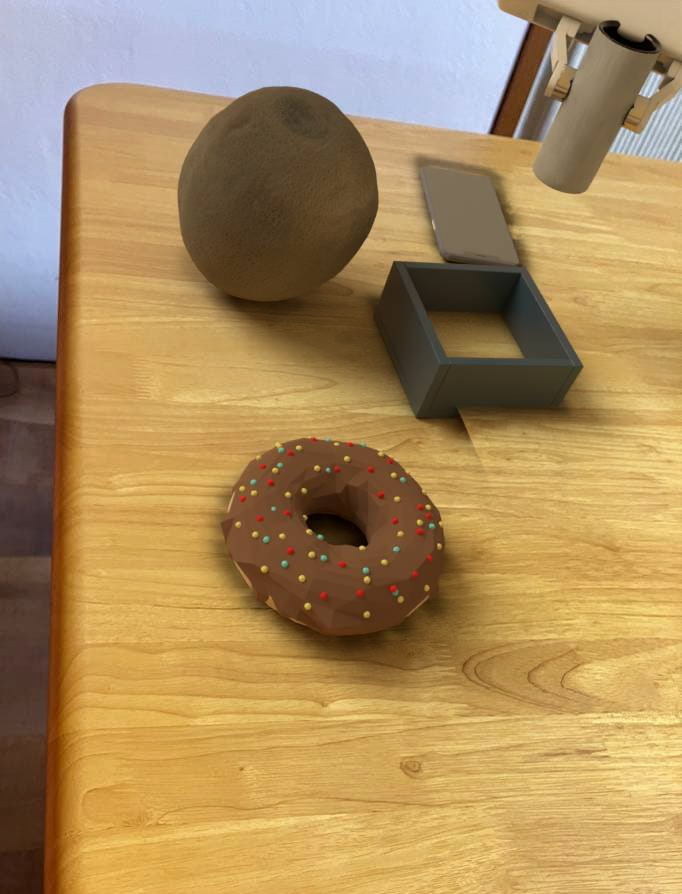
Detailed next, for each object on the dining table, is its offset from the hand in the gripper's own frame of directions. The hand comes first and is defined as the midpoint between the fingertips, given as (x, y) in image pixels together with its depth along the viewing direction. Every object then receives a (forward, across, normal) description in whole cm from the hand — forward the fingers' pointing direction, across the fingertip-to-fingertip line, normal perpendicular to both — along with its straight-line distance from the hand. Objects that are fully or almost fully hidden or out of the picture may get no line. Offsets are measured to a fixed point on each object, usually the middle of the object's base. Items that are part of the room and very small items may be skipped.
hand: (593, 112), depth 62 cm
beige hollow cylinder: (+4, 0, +4) cm, 6 cm away
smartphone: (+4, -6, +21) cm, 22 cm away
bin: (+19, -1, +6) cm, 20 cm away
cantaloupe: (+20, -18, +5) cm, 27 cm away
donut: (+36, -3, -11) cm, 37 cm away
